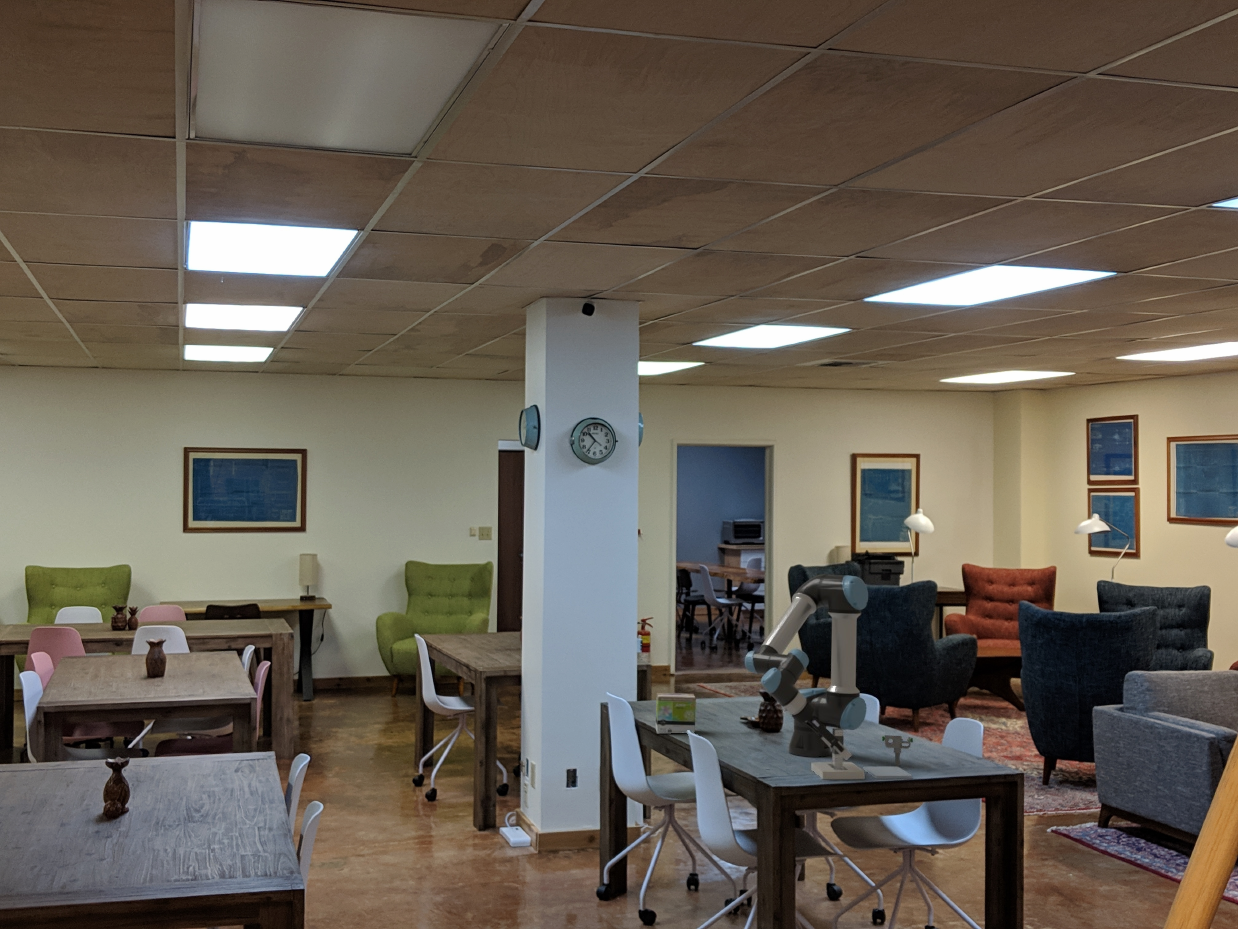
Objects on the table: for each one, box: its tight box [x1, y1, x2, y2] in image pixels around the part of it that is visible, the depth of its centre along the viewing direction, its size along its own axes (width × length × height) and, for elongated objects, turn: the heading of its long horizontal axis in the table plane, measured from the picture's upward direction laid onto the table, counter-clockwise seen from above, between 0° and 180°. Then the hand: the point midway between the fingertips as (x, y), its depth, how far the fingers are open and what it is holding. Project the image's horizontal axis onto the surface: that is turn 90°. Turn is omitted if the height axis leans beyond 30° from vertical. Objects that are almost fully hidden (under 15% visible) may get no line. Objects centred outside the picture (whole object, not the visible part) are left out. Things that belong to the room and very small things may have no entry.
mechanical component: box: [881, 734, 914, 767], centre depth 400 cm, size 3×10×10 cm, turn 78°
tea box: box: [655, 692, 697, 734], centre depth 456 cm, size 15×10×15 cm
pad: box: [862, 766, 913, 780], centre depth 386 cm, size 14×12×1 cm
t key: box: [830, 727, 845, 770], centre depth 385 cm, size 8×3×15 cm, turn 6°
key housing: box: [810, 761, 866, 780], centre depth 385 cm, size 14×14×2 cm
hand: (843, 753), depth 385 cm, fingers open, 13 cm apart
